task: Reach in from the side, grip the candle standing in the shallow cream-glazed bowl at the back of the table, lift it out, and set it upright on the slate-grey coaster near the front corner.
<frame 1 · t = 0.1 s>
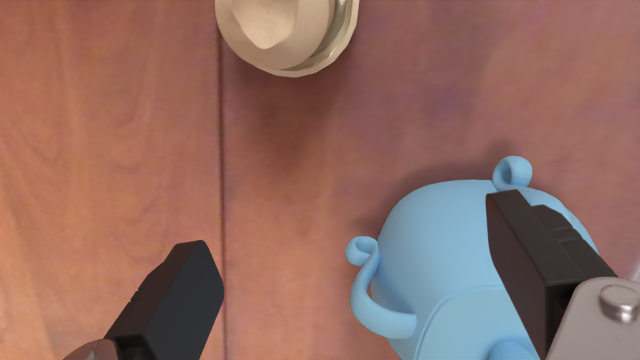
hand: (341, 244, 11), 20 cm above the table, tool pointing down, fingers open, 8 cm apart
bowl: (295, 3, 27), on the table
decorative pot: (460, 242, 35), on the table
candle: (295, 3, 27), resting on bowl
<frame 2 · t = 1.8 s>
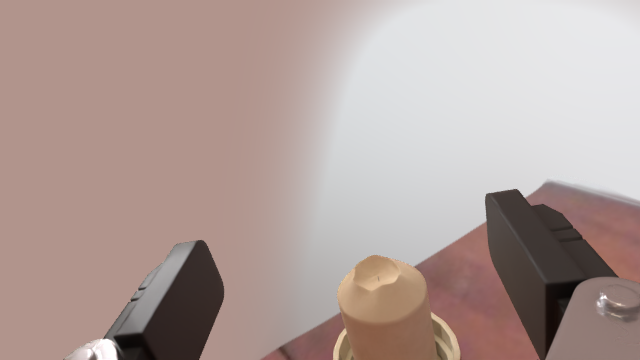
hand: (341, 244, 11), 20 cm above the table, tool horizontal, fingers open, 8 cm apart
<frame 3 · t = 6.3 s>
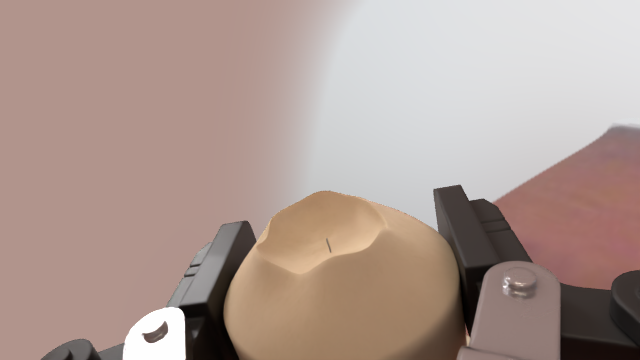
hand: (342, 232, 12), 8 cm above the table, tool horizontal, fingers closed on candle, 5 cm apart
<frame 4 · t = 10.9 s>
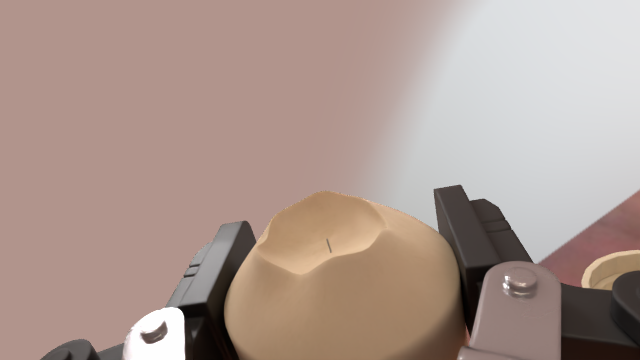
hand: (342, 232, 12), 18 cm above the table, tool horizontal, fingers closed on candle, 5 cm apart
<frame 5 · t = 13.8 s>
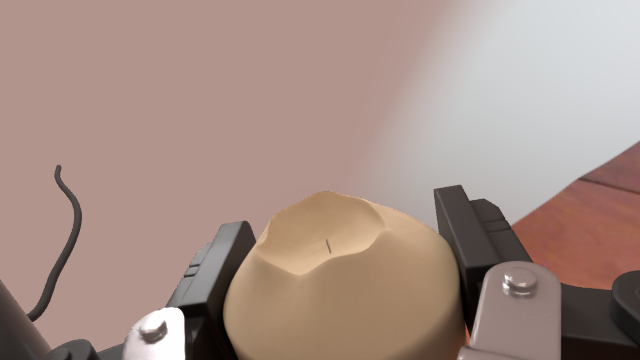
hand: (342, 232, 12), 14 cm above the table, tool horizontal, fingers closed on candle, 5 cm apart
when the fingers open (9 cm above the table, at t = 15.8 s): candle stays where it is, resting on coaster.
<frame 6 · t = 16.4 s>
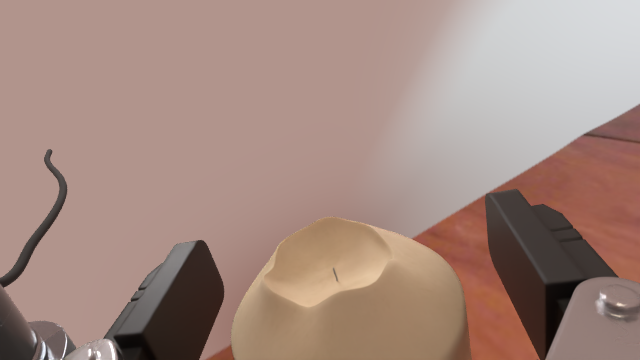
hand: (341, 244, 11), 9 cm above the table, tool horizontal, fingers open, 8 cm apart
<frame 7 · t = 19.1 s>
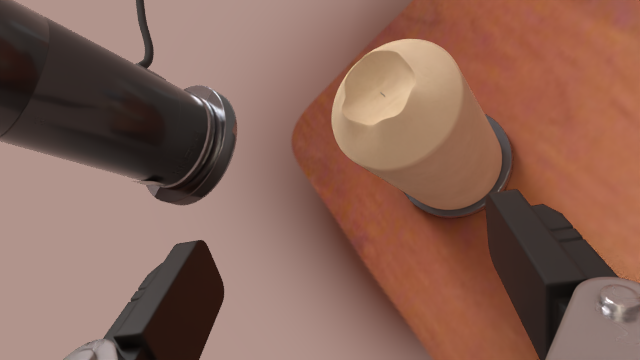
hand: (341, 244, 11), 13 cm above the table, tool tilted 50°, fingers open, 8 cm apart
candle: (451, 164, 23), resting on coaster
coaster: (452, 163, 23), on the table
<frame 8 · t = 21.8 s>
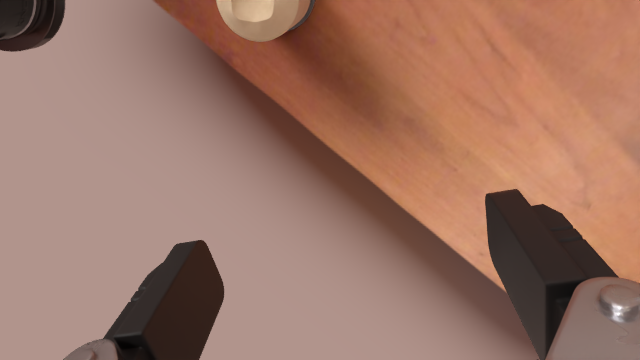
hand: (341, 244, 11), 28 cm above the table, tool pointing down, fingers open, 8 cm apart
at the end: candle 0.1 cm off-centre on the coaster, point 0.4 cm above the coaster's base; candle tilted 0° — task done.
